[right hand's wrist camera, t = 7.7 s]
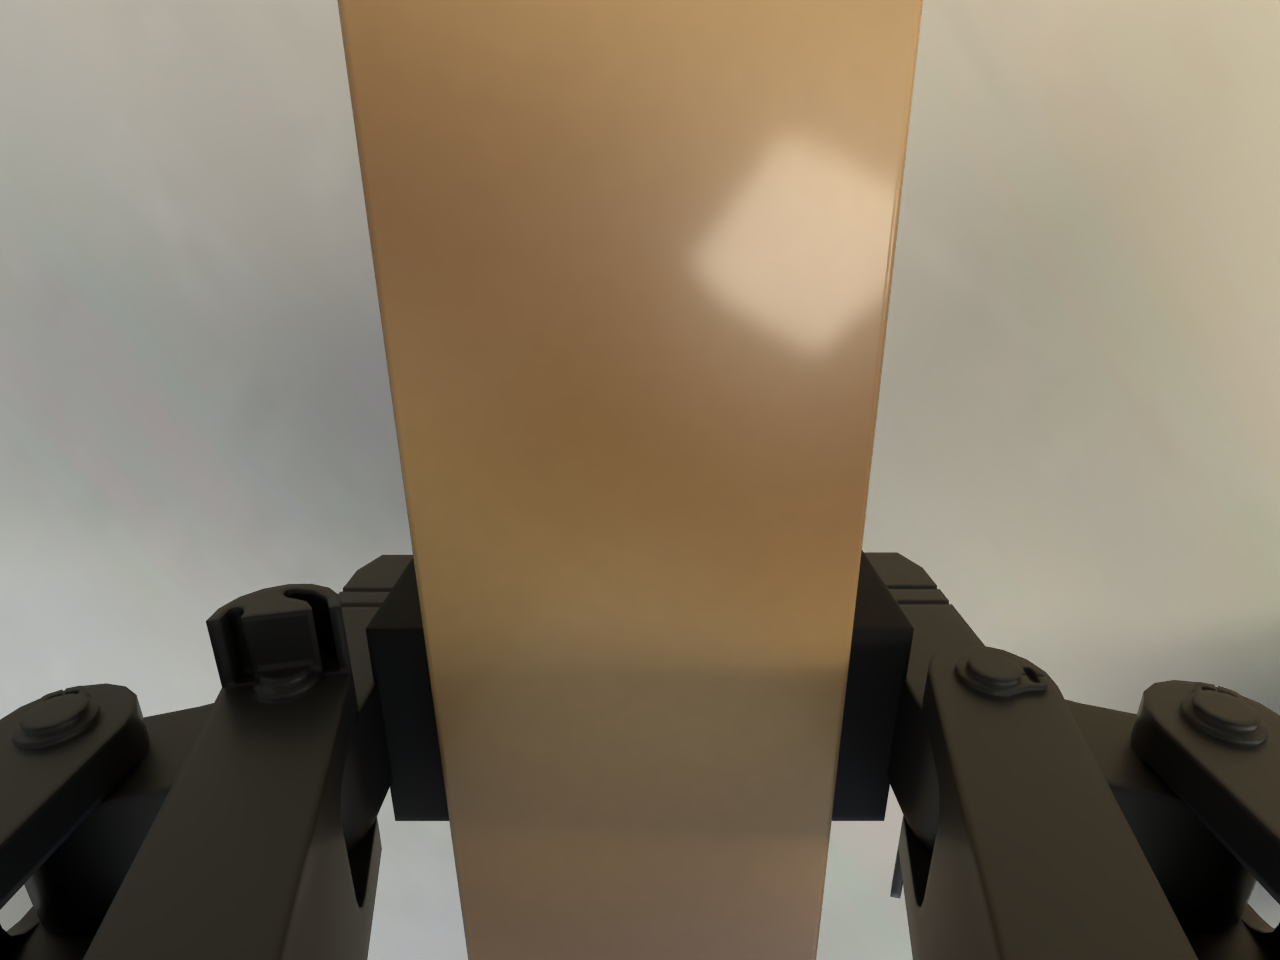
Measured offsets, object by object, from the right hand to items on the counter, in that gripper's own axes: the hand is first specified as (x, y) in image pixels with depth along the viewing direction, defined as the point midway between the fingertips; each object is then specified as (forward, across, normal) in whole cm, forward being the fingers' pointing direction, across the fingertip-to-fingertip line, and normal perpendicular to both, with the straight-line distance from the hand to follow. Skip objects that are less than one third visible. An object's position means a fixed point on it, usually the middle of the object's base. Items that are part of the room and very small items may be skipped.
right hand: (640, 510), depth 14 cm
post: (+1, 0, -34) cm, 34 cm away
